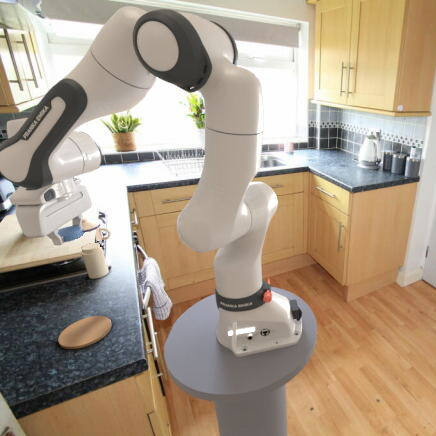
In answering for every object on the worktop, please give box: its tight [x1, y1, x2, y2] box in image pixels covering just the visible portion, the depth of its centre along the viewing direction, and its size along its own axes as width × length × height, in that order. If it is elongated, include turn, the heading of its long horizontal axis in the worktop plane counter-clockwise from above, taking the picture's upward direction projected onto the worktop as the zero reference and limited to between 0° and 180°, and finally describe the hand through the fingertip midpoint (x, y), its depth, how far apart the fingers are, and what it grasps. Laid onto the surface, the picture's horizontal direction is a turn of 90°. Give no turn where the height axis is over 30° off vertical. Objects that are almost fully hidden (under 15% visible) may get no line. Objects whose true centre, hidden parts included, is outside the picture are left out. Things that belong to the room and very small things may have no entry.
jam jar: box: [80, 243, 110, 279], centre depth 104 cm, size 6×6×10 cm
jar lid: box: [58, 225, 84, 243], centre depth 81 cm, size 6×6×2 cm
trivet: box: [57, 315, 113, 350], centre depth 82 cm, size 11×11×1 cm
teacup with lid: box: [81, 217, 112, 242], centre depth 120 cm, size 12×9×12 cm
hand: (69, 237), depth 81 cm, fingers closed on jar lid, 6 cm apart
